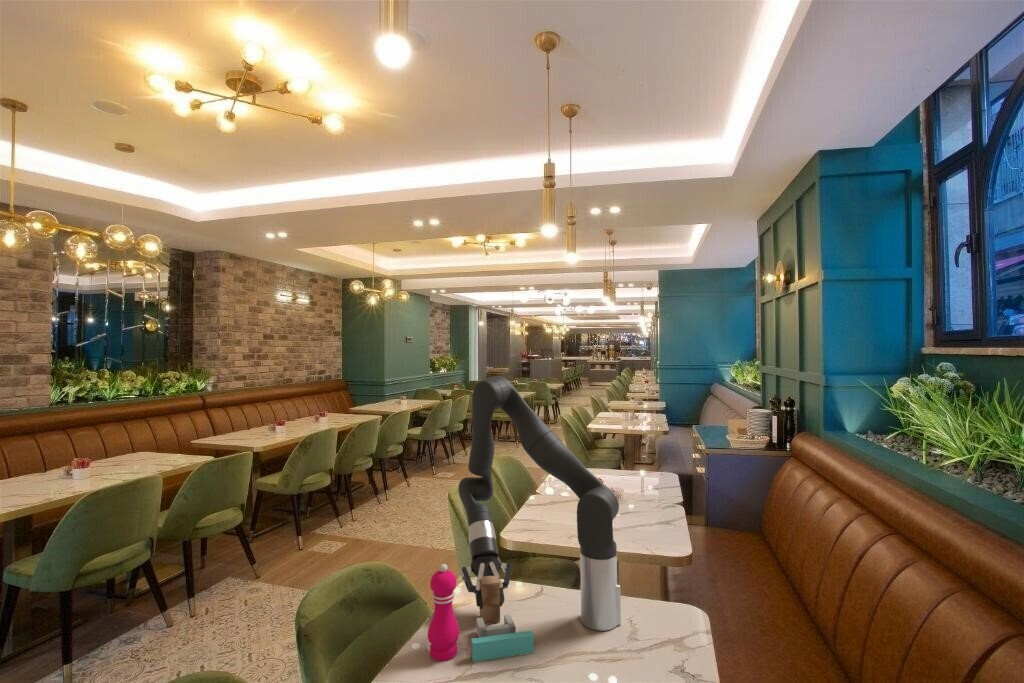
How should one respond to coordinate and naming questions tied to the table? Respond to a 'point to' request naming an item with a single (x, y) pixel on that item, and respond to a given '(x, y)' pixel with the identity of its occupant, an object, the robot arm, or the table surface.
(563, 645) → the table surface
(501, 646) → the wall
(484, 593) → the peg
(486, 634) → the frame
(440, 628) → the pepper mill
